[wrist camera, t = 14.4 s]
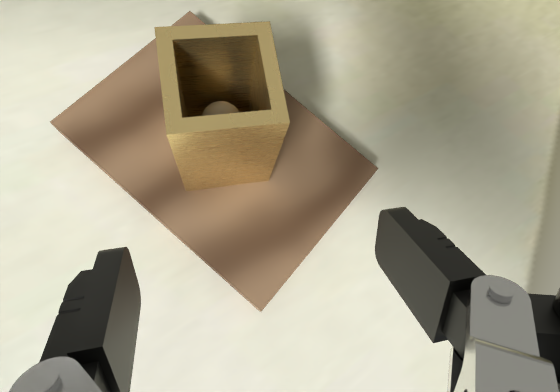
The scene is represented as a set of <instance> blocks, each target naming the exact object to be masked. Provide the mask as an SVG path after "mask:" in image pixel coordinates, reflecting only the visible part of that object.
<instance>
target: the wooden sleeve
mask: <svg viewBox="0 0 560 392" xmlns="http://www.w3.org/2000/svg"><path fill="white" fill-rule="evenodd" d="M155 36H156V45H157V54H158V63H159V72H160V81H161V90H162V99H163V108H164V117H165V126H166V135H167V138H168V141H169V143H170V146H171V149H172V152H173V155H174V158H175V161H176V164H177V166H178V169H179V172H180V175H181V178H182V181H183V184H184V187H185V190H186V191H193V190H201V189H208V188H216V187H224V186H232V185H240V184H248V183H255V182H263V181H269V179H270V176H271V173H272V170H273V168H274V165H275V162H276V159H277V157H278V154H279V151H280V148H281V146H282V143H283V140H284V137H285V135H286V132H287V129H288V127H289V124H290V120H289V115H288V110H287V105H286V100H285V95H284V90H283V85H282V80H281V75H280V70H279V65H278V60H277V55H276V50H275V45H274V40H273V35H272V30H271V25H270V22H250V23H230V24H209V25H189V26H169V27H155ZM217 101H225V102H228V103H230V104H232V105H234V106H235V107H236V108H237V109H238V111H239V113H229V114H218V115H207V116H202V114H203V111H204V110H205V108H206V107H207V106H208V105H210V104H211V103H214V102H217Z"/></svg>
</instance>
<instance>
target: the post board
mask: <svg viewBox="0 0 560 392" xmlns="http://www.w3.org/2000/svg"><path fill="white" fill-rule="evenodd" d="M189 25H206V24H205V23H204V22H202V21H201V20H200V19H199V18H198V17H196V16H195V15H194V14H193V13H192V12H190V11H189V12H188V13H187V14H186V15H184V16H183V17H182V18H180V19H179V20H178V21H177V22H175V23H174V24H173V25H172V26H189ZM283 90H284V89H283ZM284 95H285V100H286V105H287V110H288V115H289V120H290V124H289V127H288V129H287V132H286V135H285V137H284V140H283V143H282V146H281V148H280V151H279V154H278V157H277V159H276V162H275V165H274V168H273V170H272V173H271V176H270V179H269V181H263V182H255V183H248V184H240V185H232V186H224V187H216V188H208V189H201V190H193V191H186V190H185V187H184V184H183V181H182V178H181V175H180V172H179V169H178V166H177V164H176V161H175V158H174V155H173V152H172V149H171V146H170V143H169V141H168V138H167V135H166V126H165V117H164V108H163V99H162V90H161V81H160V72H159V63H158V54H157V45H156V38H155V39H154V40H153V41H151V42H150V43H149V44H148V45H146V46H145V47H144V48H143V49H141V50H140V51H139V52H138V53H136V54H135V55H134V56H133V57H131V58H130V59H129V60H128V61H126V62H125V63H124V64H122V65H121V66H120V67H119V68H117V69H116V70H115V71H114V72H112V73H111V74H110V75H109V76H107V77H106V78H105V79H104V80H102V81H101V82H100V83H99V84H97V85H96V86H95V87H93V88H92V89H91V90H90V91H88V92H87V93H86V94H85V95H83V96H82V97H81V98H80V99H78V100H77V101H76V102H75V103H73V104H72V105H71V106H70V107H68V108H67V109H66V110H64V111H63V112H62V113H61V114H59V115H58V116H57V117H56V118H54V119H53V120H52V121H51V122H50V123H51V124H52V125H53V126H54V127H55V128H56V129H57V130H58V131H59V132H60V133H61V134H63V135H64V136H65V137H66V138H67V139H68V140H69V141H70V142H71V143H73V144H74V145H75V146H76V147H77V148H78V149H79V150H80V151H81V152H83V153H84V154H85V155H86V156H87V157H88V158H89V159H90V160H92V161H93V162H94V163H95V164H96V165H97V166H98V167H99V168H100V169H102V170H103V171H104V172H105V173H106V174H107V175H108V176H109V177H110V178H112V179H113V180H114V181H115V182H116V183H117V184H118V185H119V186H121V187H122V188H123V189H124V190H125V191H126V192H127V193H128V194H129V195H131V196H132V197H133V198H134V199H135V200H136V201H137V202H138V203H139V204H141V205H142V206H143V207H144V208H145V209H146V210H147V211H148V212H150V213H151V214H152V215H153V216H154V217H155V218H156V219H157V220H158V221H160V222H161V223H162V224H163V225H164V226H165V227H166V228H167V229H168V230H170V231H171V232H172V233H173V234H174V235H175V236H176V237H177V238H178V239H180V240H181V241H182V242H183V243H184V244H185V245H186V246H187V247H189V248H190V249H191V250H192V251H193V252H194V253H195V254H196V255H197V256H199V257H200V258H201V259H202V260H203V261H204V262H205V263H206V264H207V265H209V266H210V267H211V268H212V269H213V270H214V271H215V272H216V273H218V274H219V275H220V276H221V277H222V278H223V279H224V280H225V281H226V282H228V283H229V284H230V285H231V286H232V287H233V288H234V289H235V290H236V291H238V292H239V293H240V294H241V295H242V296H243V297H244V298H245V299H247V300H248V301H249V302H250V303H251V304H252V305H253V306H254V307H255V308H257V309H258V310H259V311H262V310H263V309H264V308H265V306H266V305H267V304H268V303H269V301H270V300H271V299H272V298H273V297H274V295H275V294H276V293H277V292H278V290H279V289H280V288H281V287H282V286H283V284H284V283H285V282H286V281H287V279H288V278H289V277H290V276H291V275H292V273H293V272H294V271H295V270H296V268H297V267H298V266H299V265H300V264H301V262H302V261H303V260H304V259H305V257H306V256H307V255H308V254H309V253H310V251H311V250H312V249H313V248H314V246H315V245H316V244H317V243H318V242H319V240H320V239H321V238H322V237H323V235H324V234H325V233H326V232H327V231H328V229H329V228H330V227H331V226H332V224H333V223H334V222H335V221H336V220H337V218H338V217H339V216H340V215H341V213H342V212H343V211H344V210H345V209H346V207H347V206H348V205H349V204H350V202H351V201H352V200H353V199H354V198H355V196H356V195H357V194H358V193H359V191H360V190H361V189H362V188H363V187H364V185H365V184H366V183H367V182H368V180H369V179H370V178H371V177H372V176H373V174H374V173H375V172H376V171H377V169H378V168H377V167H376V166H375V165H374V164H372V163H371V162H370V161H369V160H368V159H366V158H365V157H364V156H363V155H362V154H361V153H359V152H358V151H357V150H356V149H355V148H353V147H352V146H351V145H350V144H349V143H347V142H346V141H345V140H344V139H343V138H341V137H340V136H339V135H338V134H337V133H335V132H334V131H333V130H332V129H331V128H329V127H328V126H327V125H326V124H325V123H323V122H322V121H321V120H320V119H319V118H317V117H316V116H315V115H314V114H313V113H311V112H310V111H309V110H308V109H307V108H305V107H304V106H303V105H302V104H301V103H299V102H298V101H297V100H296V99H295V98H293V97H292V96H291V95H290V94H289V93H287V92H286V91H285V90H284ZM229 113H239V111H238V109H237V108H236V107H235V106H234V105H232V104H230V103H228V102H225V101H217V102H214V103H211V104H210V105H208V106H207V107H206V108H205V110H204V111H203V114H202V116H207V115H218V114H229Z"/></svg>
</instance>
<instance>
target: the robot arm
mask: <svg viewBox="0 0 560 392" xmlns="http://www.w3.org/2000/svg"><path fill="white" fill-rule="evenodd" d="M375 254H376V259H377V261H378V264H379V266H380V267H381V269H382V270H383V271H384V273H385V274H386V276H387V277H388V279H389V280H390V282H391V283H392V284H393V286H394V287H395V289H396V290H397V292H398V293H399V295H400V296H401V297H402V299H403V300H404V302H405V303H406V305H407V306H408V307H409V309H410V310H411V312H412V313H413V315H414V316H415V318H416V319H417V320H418V322H419V323H420V325H421V326H422V328H423V329H424V331H425V332H426V333H427V335H428V336H429V338H430V339H431V341H432V342H433V343H436V342H440V341H445V340H449V342H450V343H451V344H452V348H451V351H450V361H449V374H448V387H447V392H560V289H559V291H558V293H557V295H556V296H554V295H538V294H527V292H526V291H525V290H524V289H523V288H522V287H520V286H519V285H518V284H516V283H514V282H512V281H510V280H508V279H505V278H502V277H499V276H493V275H486V274H485V273H484V272H483V271H482V270H480V269H479V268H478V267H477V266H476V265H475V264H474V263H473V262H472V261H471V260H470V259H469V258H468V257H467V256H466V255H465V254H464V253H463V252H462V251H461V250H460V249H459V248H458V247H455V244H454V243H453V242H452V241H450V240H449V239H447V237H446V236H445V235H444V234H443V233H442V232H441V231H440V230H439V229H438V228H437V227H436V226H434V225H432V224H430V223H428V222H426V221H424V220H422V219H420V220H418V219H417V218H416V217H415V216H414V215H413V214H412V213H411V212H410V211H409V210H408V209H407V208H406V207H399V208H393V209H386V210H382V211H381V212H380V215H379V221H378V229H377V236H376V244H375ZM140 307H141V296H140V288H139V284H138V280H137V277H136V273H135V270H134V266H133V263H132V259H131V256H130V252H129V250H128V248H127V247H122V248H116V249H109V250H102V251H99V252H98V254H97V257H96V261H95V264H94V267H93V269H92V270H85V271H81V272H80V273H79V274H78V275H77V276H76V277H75V278H74V280H73V281H72V282H71V283H70V284H69V285H68V288H67V290H66V293H65V296H64V298H63V302H62V304H61V306H60V309H59V315H57V317H56V320H55V322H54V325H53V327H52V330H51V333H50V335H49V338H48V341H47V343H46V346H45V349H44V351H43V354H42V357H41V359H40V362H39V363H38V364H36V365H34V366H33V367H31V368H30V369H28V370H27V371H26V372H25V373H23V374H22V375H21V376H20V377H19V378H18V379H17V380H16V382H15V383H14V384H13V386H12V388H11V389H10V391H9V392H130V384H131V377H132V369H133V361H134V354H135V346H136V338H137V331H138V323H139V315H140Z"/></svg>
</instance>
